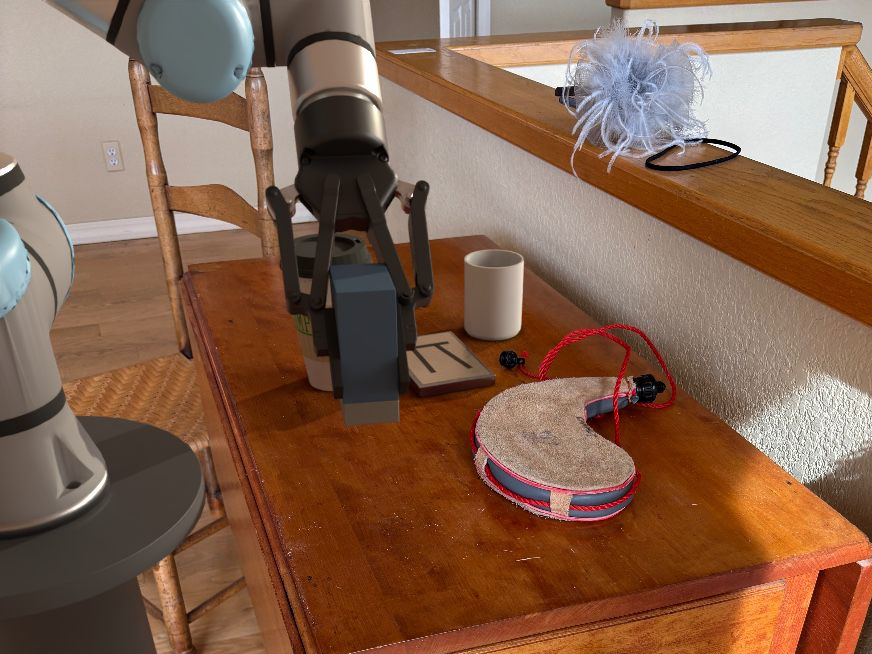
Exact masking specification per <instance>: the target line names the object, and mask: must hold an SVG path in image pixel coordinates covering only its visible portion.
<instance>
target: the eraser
mask: <svg viewBox="0 0 872 654" xmlns="http://www.w3.org/2000/svg"><path fill="white" fill-rule="evenodd" d="M329 276H330V290H331V304H332V308H334V309H335V317H336V326H337V334H338V343H339V351H340V360H341V367H342V376H343V384H344V391H343V399H338V401H339V404H340V405H339V406H340V410H341V414H342V415H341V416H342V419H343V423H344V426H345V427H352V426H353V427H354V426H366V425H367V426H368V425H378V424H379V425H380V424H393V423H400V398H399V397H400V395H399V392H398V357H397V356H398V353H397V316H396V289H395V287H394V285H393V282H392V280H391V277H390V275H389V273H388V270H387V268H386V265H385V264H384V263H378V262H374V263H369V264H350V265H330V267H329Z"/></svg>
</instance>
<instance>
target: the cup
mask: <svg viewBox="0 0 872 654" xmlns="http://www.w3.org/2000/svg"><path fill="white" fill-rule="evenodd" d="M524 258H525V257H524V256H523V255H522V254H520V253H519V252H515V251H512V250H506V249H482V250H476V251H473V252H470V253H468V254H466V255H465V256H464V263H463V264H464V267H463V268H464V269H463V270H464V271H463V272H464V279H463V280H464V281H463V282H464V283H463V284H464V285H463V287H464V289H463V290H464V291H463V292H464V293H463V298H464V299H463V300H464V301H463V303H464V304H463V307H464V308H463V311H464V312H463V317H464V318H463V324H464V330H465V332H466V333H467V335H468V336H470V337H471V338H475V339H477V340H478V339H479V340H483V341H503V340H508V339H511V338H513V337H515V336H517V335H518V333H519V332H520V331H521V329H522V314H523V295H524V294H523V293H524V292H523V290H524V268H525V267H524V265H525V262H524V261H525V259H524Z"/></svg>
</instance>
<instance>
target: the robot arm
mask: <svg viewBox="0 0 872 654" xmlns="http://www.w3.org/2000/svg"><path fill="white" fill-rule="evenodd" d="M41 1H42V2H44V3H45V4H47V5H49V6H50V7H51V8H54V9H55V10H56V11H58V12H59V13H61V14H63V15H65V16H66V17H68V18H69V19H71V20H72V21H74V22H76V23H77V24H79V25H80V26H82V27H84V28H85V29H87V31H88V30H89V31H90V32H92V33H93V34H95V35H97V36H98V37H100V39H103V40H105V42H106V43H108V44H109V45H111V46H113V47H114V48H115V49H117V50H118V51H119V52H121V53H123V54H124V55H126V56H127V57H129V58H130V59H132V60H134V61H135V62H137V63H138V64H140V65H141V66H143V67H145V68H146V70H147V71H148V72H149V74H150V75H151V77H153V78H154V80H155V81H156V83H157V84H158V85H159V86H160V87H161V88H162V89H163V90H165V91H166V92H167V93H168V94H170V95H172V96H173V97H175V98H177V99H179V100H181V101H184V102H187V103H192V104H198V105H199V104H204V105H205V104H210V103H215V102H219V101H222V100H223V99H225V98H227V97H228V96H230V95H231V94H232V93H233V92H234V91H235V90H236V89H237V88H238V87H239V86H240V85H241V83H242V81H244V80H245V79H246V77H247V75H248V74H249V72H250V69H254V68H255V69H257V68H268V69H269V68H270V69H271V68H280V67H281V68H283V67H286V72H287V80H288V90H289V97H290V105H291V106H290V107H291V116H292V121H293V123H294V124H293V133H294V134H293V135H294V141H295V142H294V143H295V151H296V161H297V168H298V170H297V173H296V175H295V177H294V181H293V184H290V185H287V186H285V187H283V188H279V187H278V186H276V185H269V186H268V187H266V188H265V193H264V194H265V196H264V197H265V202H266V203H265V205H266V206H265V207H266V211H267V214H268V215H269V217H270V219H271V221H272V223H273V225H274V227H275V229H276V234H277V235H276V236H277V241H278V248H279V249H278V250H279V251H278V252H279V257H280V259H281V267H282V270H281V273H282V282H283V289H284V291H283V292H284V299H285V309H286V311H287V313H288V314H289V315H291V316H293V315H298V314H300V315H304V316H306V317H307V318H308V319H309V320H310V322H311V329H312V338H313V347H314V352H315V354H316V356H317V357H324V356H329V363H330V372H331V381H332V389H333V391H332V397H333V398H332V399H333V400H339V399H343V391H344V384H343V376H342V367H341V360H340V351H339V343H338V334H337V326H336V317H335V309H334V308H326V301H327V293H328V285H329V277H330V276H329V267H330V265H331V262H332V254H333V246H334V241H335V233H340V234H342V233H345V232H349V231H355V232H360V233H361V232H364V233H365V236H366V239H367V241H368V243H369V244H370V246H371V248H372V250H373V252H374V256H375V258H376V261H377V263H384V264H385V265H386V268H387V270H388V273H389V275H390V277H391V280H392V282H393V285H394V287H395V289H396V316H397V353H398V356H397V357H398V392H399V396H401V395H408V391H409V388H410V376H409V369H408V361H407V353H406V351H414V350H415V347H416V343H417V339H418V336H419V335H418V329H417V321H416V312H415V311H417V310H418V309H420V308H424V309H426V308H428V307H430V306H431V304H432V300H433V296H434V292H435V280H434V271H433V263H432V254H431V247H430V238H429V229H428V222H427V221H428V220H427V214H426V209H427V204H428V199H429V195H430V189H431V186H430V184H429V182H428V181H426V180H423V179H420V180H418V181H417V182H416V183H415V184H413V183H409V182H406V181H403V180H399V176H398V175H397V172H396V171H395V170H394V168H393V167H392V165H391V162H390V161H391V160H390V153H389V146H388V138H387V129H386V121H385V118H384V115H383V113H384V106H383V98H382V89H381V84H380V76H379V70H378V63H377V54H376V45H375V35H374V28H373V26H374V25H373V17H372V10H371V9H372V8H371V2H370V1H371V0H41ZM395 198H396V199H398V200H399V202H400V208H401V210H402V211H403V213H404V214H406V215H408V218H407V230H408V239H409V249H410V257H411V264H412V265H411V266H412V273H413V283H414V287H412V288H411V285H410V282H409V279H408V277H407V274H406V272H405V270H404V267H403V264H402V262H401V259H400V255H399V253H398V251H397V248H396V245H395V243H394V240H393V237H392V234H391V232H390V229H389V227H388V222H387V217H386V215H385V213H386V212H387V210H388V209H389V208H390V206H391V204H392V202H393V200H394V199H395ZM298 202H299V203H301V205H302V206H303V207H305V209H306V210H307V211H308V212H309V213H310V214H311V215H312V217H314V218H315V219H316V220H317V222H318V231H317V234H318V238H317V246H316V254H315V261H314V269H313V276H312V284H311V292H310V295H309V294H306V293H302V292H301V291H300V283H299V275H298V267H297V259H296V251H295V243H294V238H295V236H294V227H293V221H292V218H293V217H295V215H296V214H297V206H296V205H297V203H298ZM61 217H62V216H61V215H60V214H59V213H58V212H57V211H56V209H55V208H54V207H53V206H52V205H51V204H50V203H49V202H48V201H47V200H45V199H44V198H43V197H42V196H40V195H39V194H37V193H35V192H34V191H33V189H32V187H31V185H30V183H29V182H28V179H27V178H26V175H25V174H24V172H23V170H22V168H21V166H20V165H19V162H18V160H17V159H16V158H15V157H14V156H12V155H11V154H9V153H6V152H4V151H2V150H0V540H9V539H17V538H23V537H28V536H33V535H37V534H40V533H44V532H47V531H50V530H53V529H56V528H59V527H61V526H64V525H66V524H68V523H70V522H72V521H74V520H76V519H78V518H80V517H81V516H83V515H85V514H86V513H88V512H89V511H90V510H92V509H93V508H94V507H95V506H96V505H98V504H99V503H100V502H101V500H102V499H103V498H104V497H105V495H106V493H107V492H108V489H109V486H110V478H109V474H108V470H107V466H106V463H105V460H104V458H103V457H102V454H101V452H100V451H99V449H98V448H97V447H96V445H95V444H94V442H93V441H92V439H91V438H90V436H89V435H88V433H87V432H86V431H85V429H84V428H83V426H82V425H81V423H80V422H79V420H78V419H77V417H76V416H77V415H76V414H75V413H74V412H73V410H72V408H71V407H70V405H69V404H68V400H67V397H66V393H65V390H64V387H63V382H62V378H61V374H60V371H59V368H58V364H57V360H56V356H55V354H54V349H53V346H52V342H51V337H50V331H51V329H52V326H53V325H54V323H55V321H56V319H57V316H58V314H59V312H60V310H61V308H62V306H63V304H64V303H65V302H66V300H67V299H68V296H69V295H70V293H71V288H72V286H73V281H74V277H75V250H74V245H73V241H72V238H71V235H70V232H69V230H68V228H67V226H66V224H65V222H64V220H63V219H62V218H61ZM280 259H279V260H280Z"/></svg>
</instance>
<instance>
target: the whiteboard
mask: <svg viewBox="0 0 872 654" xmlns="http://www.w3.org/2000/svg"><path fill="white" fill-rule="evenodd" d="M406 353H407V361H408V369H409V376H410V384H409V386H410V387H411V388H412V389H413V391H415V393H416V394H417V395H418V397H419V398H424V397H425V398H426V397H430V396H438V395H443V394H448V393H449V394H450V393H454V392H460V391H461V392H462V391H467V390H472V389H478V388H485V387H489V386H495V385H496V374H495V373H494V372H493V371H492V370H491V369H490V368H489V367H488V366H487V365H486V364H485V363H484V362H483V361H482V360H481V359H480V358H479V357H478V356H477V355H476V354H475V353H474V352H473V351H472V350H471V349H470V348H469V347H468V346H467V345H466V344H465V343H464V342H463V341H462V340H461V339H460V338H459V337H458V336H456V334H455V333H454V332H452V331H451V330H450V331H444V332H436V333H430V334H429V333H428V334H423V335H418V339H417V343H416V347H415V350H414V351H406Z"/></svg>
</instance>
